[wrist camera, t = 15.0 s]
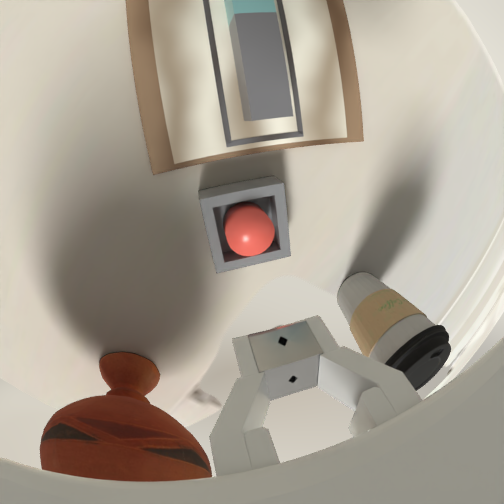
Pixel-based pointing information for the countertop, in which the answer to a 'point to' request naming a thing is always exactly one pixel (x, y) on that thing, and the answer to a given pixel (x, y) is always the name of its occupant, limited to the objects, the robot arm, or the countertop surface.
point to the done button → (248, 229)
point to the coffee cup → (393, 329)
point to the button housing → (224, 197)
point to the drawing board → (226, 84)
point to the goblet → (122, 432)
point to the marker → (259, 59)
